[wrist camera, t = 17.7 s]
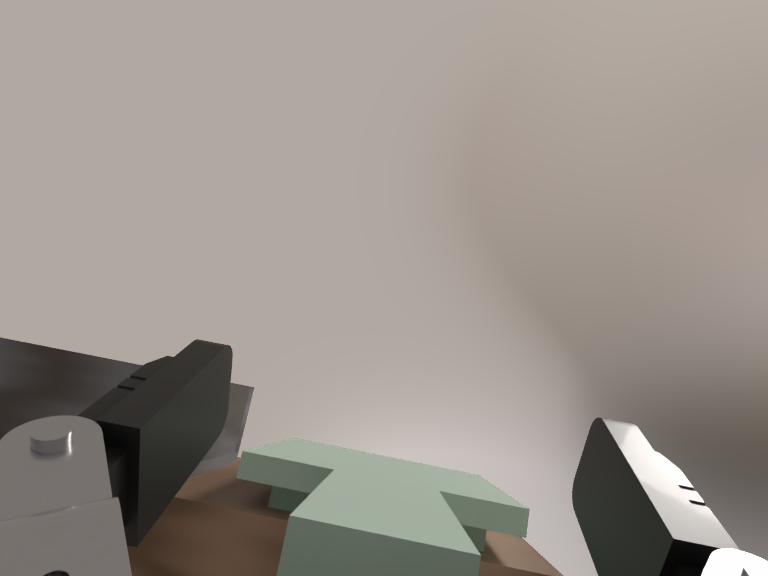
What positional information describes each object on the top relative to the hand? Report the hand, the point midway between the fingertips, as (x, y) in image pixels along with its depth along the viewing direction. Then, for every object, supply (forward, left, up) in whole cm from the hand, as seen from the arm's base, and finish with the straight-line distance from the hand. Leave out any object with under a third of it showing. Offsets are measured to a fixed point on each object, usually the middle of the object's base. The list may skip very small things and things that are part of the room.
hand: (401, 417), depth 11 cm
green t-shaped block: (0, +8, -4) cm, 9 cm away
